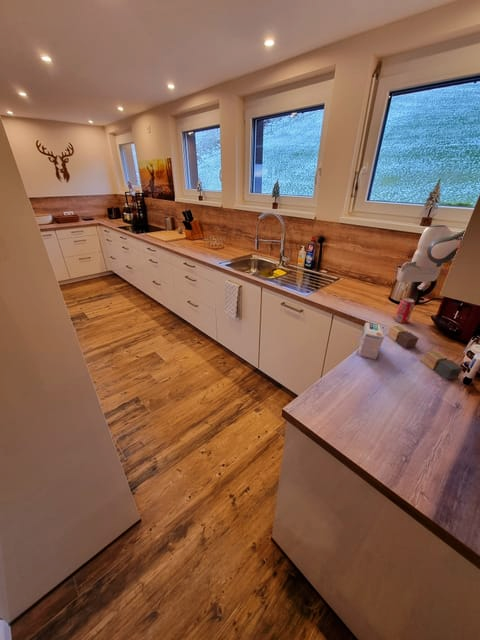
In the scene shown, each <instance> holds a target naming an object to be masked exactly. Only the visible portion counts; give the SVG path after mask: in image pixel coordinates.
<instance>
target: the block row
mask: <svg viewBox="0 0 480 640" xmlns="http://www.w3.org/2000/svg"><path fill="white" fill-rule="evenodd" d="M387 337H389V338H390V339H392V340H393V341H394V342H396V343H397V344H398V345H400V346H401V347H402V348H403V349H405V350H406V349H415V348H416V346H417V343H418V341H419V340H420V339H419V337H418V336H416V335H415V334H413V333H412V332H410V331H409V330H407V329H406V328H404V327H402V326H401V325H393V326H392V325H390V326H389V330H388V333H387ZM422 363H424V364H425V365H426V366H427V367H429V368H430V369H431V370H434V372H435V373H437V374H438V375H439V376H441V377H442V378H443V379H445V380H446V381H448V380H455V379H458V378H459V377H460V374H461V373H462V371H463V369H464V367H463V366H461V365H459V364H458V363H456V362H455V361H454V360H452V359H449V357H447V356H446V355H444V354H443V353H442V352H440V351H439V350H429V351H426V352H425V354H424V356H423V358H422Z"/></svg>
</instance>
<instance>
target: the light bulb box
mask: <svg viewBox="0 0 480 640" xmlns="http://www.w3.org/2000/svg"><path fill="white" fill-rule="evenodd" d="M384 334H385V333H384V327H383V325H382V324H378V323H374V322H373V323H372V322H367V321H365V323H364V326H363V329H362V333H361V336H360V340H359V342H358V356H361V357H365V358H368V359H373V360H377V357H378V354H379V351H380V349H381V347H382V343H383V341H384V339H385V335H384Z"/></svg>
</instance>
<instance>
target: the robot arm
mask: <svg viewBox="0 0 480 640" xmlns="http://www.w3.org/2000/svg"><path fill="white" fill-rule="evenodd" d="M465 230H466V229H464V230H462V231H460V232H458V233H455V232H454V231H451V229H450V228H449V227H448V226H447V225H444V224H438V225H437V224H436V225H429V226H426V227H425V229H424V230H423V232H422V234H421V236H420V238H419V240H418V243H417V248H416V250H415V252H414V254H413V256H412V259H411V261H407V262H405V263H403V264H402V265H401V267H400V269H399V271H398V273H397V275H396V278H395V279H396V281H397V282H400V283H401V285H402V287H401V290H402V291H404V292H405V291H408V289H409V288H408V286H407V285H408V284H409V283H420V284H419V285H418V286H417V289H418V290H419V291H421V290H424V288H425V287H426V286H427V285H428V284H429V282H435V281H436V280H437V279H438V277H439V275H440V273H441V270H442V267H443V266H444V264H446V263H448V262H451V261H454V260H453V258H454V256H455V254H456V251H457V249H458V246H459V244H460V241H461V239H462V237H463V234H464V232H465Z"/></svg>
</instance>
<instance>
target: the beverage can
mask: <svg viewBox="0 0 480 640" xmlns="http://www.w3.org/2000/svg"><path fill="white" fill-rule="evenodd" d="M414 307H415V300H414V299H413V298H410V297H403V298H402V299H400V302H399V304H398V308H397V309H396V313H395V315H394V320H395V321H396V322H398V323H401V324H407V323H408V322H409V320H410V318H411V315H412V313H413V310H414Z"/></svg>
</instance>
